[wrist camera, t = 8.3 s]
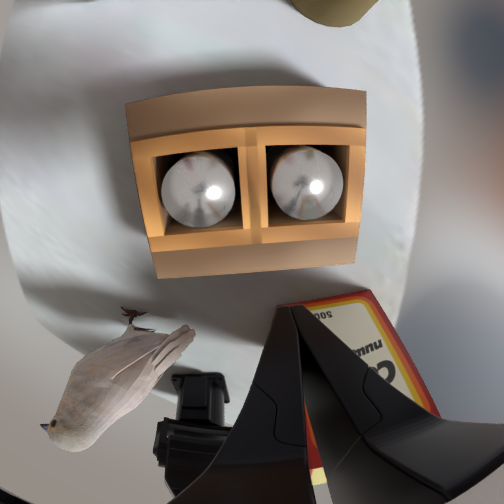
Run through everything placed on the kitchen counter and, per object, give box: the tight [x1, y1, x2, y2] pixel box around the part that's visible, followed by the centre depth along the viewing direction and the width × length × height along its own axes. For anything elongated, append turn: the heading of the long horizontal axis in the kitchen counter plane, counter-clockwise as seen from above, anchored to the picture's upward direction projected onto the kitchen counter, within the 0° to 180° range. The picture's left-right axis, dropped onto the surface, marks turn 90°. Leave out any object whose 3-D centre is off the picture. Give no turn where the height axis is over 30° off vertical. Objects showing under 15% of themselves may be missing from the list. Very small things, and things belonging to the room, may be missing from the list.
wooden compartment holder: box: [125, 86, 366, 279], centre depth 17 cm, size 11×13×5 cm
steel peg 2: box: [266, 145, 343, 220], centre depth 17 cm, size 4×4×5 cm
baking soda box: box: [277, 290, 441, 485], centre depth 20 cm, size 10×6×16 cm
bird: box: [40, 307, 196, 452], centre depth 19 cm, size 5×14×15 cm, turn 97°
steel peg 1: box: [161, 149, 235, 228], centre depth 17 cm, size 4×4×5 cm
